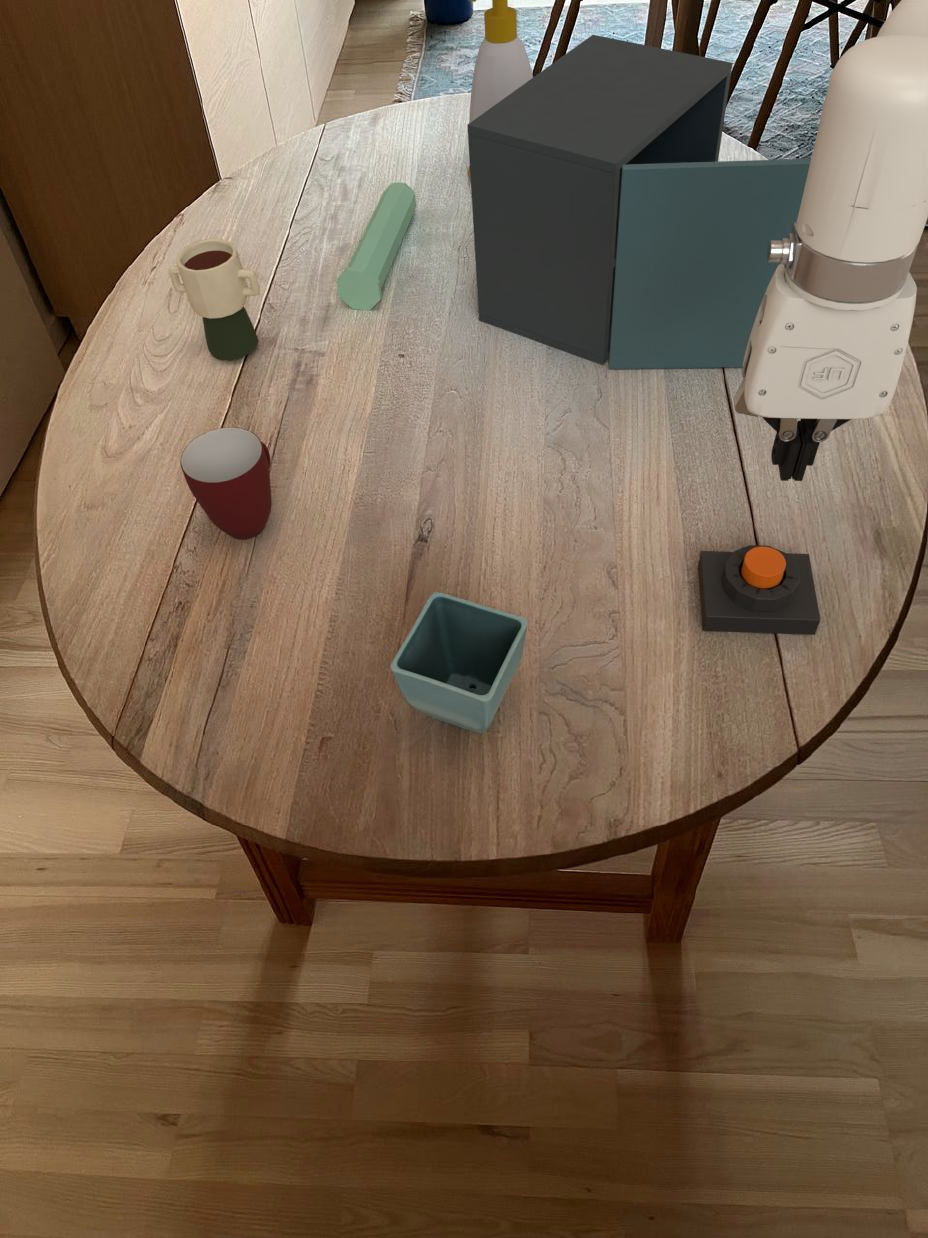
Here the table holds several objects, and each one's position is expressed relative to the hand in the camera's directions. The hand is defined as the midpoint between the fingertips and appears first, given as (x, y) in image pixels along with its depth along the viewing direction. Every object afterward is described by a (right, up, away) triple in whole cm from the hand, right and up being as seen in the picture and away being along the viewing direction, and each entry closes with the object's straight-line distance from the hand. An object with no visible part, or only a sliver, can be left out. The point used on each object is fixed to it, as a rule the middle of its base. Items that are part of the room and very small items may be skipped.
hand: (789, 468), depth 75 cm
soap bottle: (-20, +54, +66) cm, 88 cm away
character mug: (-55, +22, +43) cm, 73 cm away
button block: (+1, -10, +13) cm, 17 cm away
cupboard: (-9, +30, +46) cm, 56 cm away
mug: (-49, -2, +24) cm, 54 cm away
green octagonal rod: (-37, +38, +54) cm, 75 cm away
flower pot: (-26, -20, +8) cm, 33 cm away
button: (+1, -8, +10) cm, 13 cm away
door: (+4, +15, +32) cm, 36 cm away
